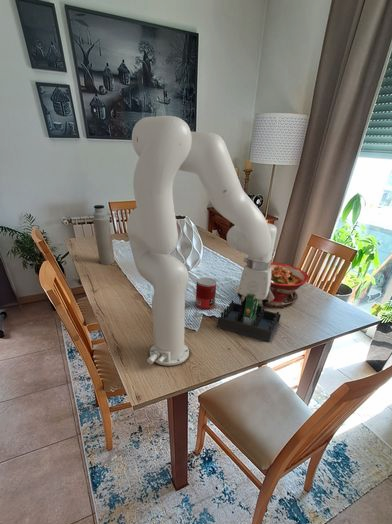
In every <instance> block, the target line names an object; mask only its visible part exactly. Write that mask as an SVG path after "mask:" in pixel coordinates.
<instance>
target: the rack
mask: <svg viewBox="0 0 392 524" xmlns="http://www.w3.org/2000/svg"><path fill="white" fill-rule="evenodd" d="M265 308H266V307H262V311H261V313H259V315H258V316H256V319H255V320H254V321H253V323H252V324H251V325H248V324H244V323H243V317H244V312H241V310H242V308H241V303H237V302H234V299H233V300H231V301H230V302H229V304H228V305H226V308H224V309H223V311H221V312H220V316H217V323H216V324H217V325H216V327H217V328H220V329H223V330H226V331H230V332H234V333H237V334H241V335H243V336H246V337H247V336H248V337H251V338H254V339H258V340H261V341H265V342H268V343H270V341H271V339H272V338H273V336H274V334H275V332H276V330H277V328H278V326H279V324H280V319H281V316H282V315H281V313H280V311H276V312H274V311H273V312H272V311H269V310H265ZM244 311H245V310H244Z"/></svg>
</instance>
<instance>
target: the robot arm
mask: <svg viewBox="0 0 392 524" xmlns="http://www.w3.org/2000/svg"><path fill="white" fill-rule="evenodd" d="M131 143H132V147H133V150H134V152H135V153H136V155H137V156H138V159H137V162H136V165H135V168H134V172H133V179H132V185H133V195H134V200H135V206H136V207H135V208H133V210H132V211H130V213H129V215H128V217H127V221H126V234H127V238H128V242H129V246H130V249H131V253H132V257H133V260H134V265H135V268H136V270H137V272H138V274H139V275H140V276H141V277H142V278H143V279H144V280H145V281H146V282H148V283H149V284H150V285H151V286H152V287H153V296H152V299H151V313H152V314H151V316H152V333H153V345H152V346H151V347H150V349H149V357H148V358H147V359H146V361H147V363H148V364H150V365H152V364H154V363H156V364H157V365H161V366H165V367H166V366H167V367H168V366H177V365H180V364H182V363H183V362H185V361H187V359H188V358H189V355H190V350H189V346H187V345H186V343H185V331H186V330H185V327H186V324H185V323H186V322H185V321H186V296H187V291H188V285H189V280H190V274H189V270H188V269H187V267H186V265H185V264H184V263H183V262H182V261H181V260H179V259H178V258H177V257H175V256H173V255H171V253H173V252H174V251H175V250H176V248H177V246H178V243H179V231H178V224H177V217H176V211H175V205H174V195H173V185H174V181H175V177H176V175H177V173H178V171H181V172H186V173H191V174H196V175H197V176H198V178H199V180H200V183H201V184H202V186H203V189H204V190H205V192H206V194H207V197H208V199H209V201H210V203H211V205H212V207H213V208H214V209H215V211H217V212H218V214H219V215H221V216H222V217H223V218H224V219H226V220H228V221H229V222H230V223H232V224H233V225H232V226H231V227H230V228H229V230H228V231H227V233H226V242H227V244H228V246H229V247H230V248H231V249H233V250H235V251H237V252H240V253H243V254H244V255H247V256H248V257H243V262H244V263H246V265H244V266H243V270H242V272H241V277H240V282H239V284H238V285H237V286H236V287H235V288H234V289H233V292H234V293H235V294H236V295H237V296H238V298H239V300H240V304H241V308H242V310H241V312H244V310H245V305H246V297H247V294H248V293H249V294H253V295H255V299H259V304H258V306H257V311H256V316H258V315H259V313H261V311H262V309H263V308H264V307H263V305H264V304H266V303H267V302H270V301H272V300H273V299H274V296H273V294H272V292H271V290H270V285H271V268H270V264H271V263H272V258H273V253H274V249H275V244H276V238H277V232H278V229H277V226H276V225H274V224H272V223H269V222H267V220H266V218H265V216H264V214H263V212H262V211H261V210H260V209H259V208H258V206H257V205H256V204H255V202H253V200H252V199H251V198H250V197H249V196H248V194H247V193H246V192H245V191H244V188H243V186H242V185H241V182H240V179H239V177H238V174H237V171H236V168H235V165H234V163H233V160H232V158H231V155H230V152H229V149H228V146H227V144H226V142H225V140H224V139H223V138H222V137H221V135H219V134H217V133H215V132H210V131H191V129H190V126H189V125H188V123H187V122H186V121H185V120H183V119H182V118H181V117H178V116H174V115H158V116H146V117H142V118H141V119H139V120H138V121H137V122H136V123H135V125H134V126H133V129H132V133H131ZM267 295H268V296H269V297H268V298H266V297H267ZM267 304H268V303H267Z"/></svg>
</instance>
